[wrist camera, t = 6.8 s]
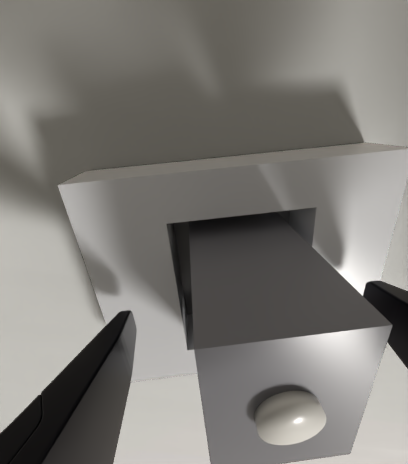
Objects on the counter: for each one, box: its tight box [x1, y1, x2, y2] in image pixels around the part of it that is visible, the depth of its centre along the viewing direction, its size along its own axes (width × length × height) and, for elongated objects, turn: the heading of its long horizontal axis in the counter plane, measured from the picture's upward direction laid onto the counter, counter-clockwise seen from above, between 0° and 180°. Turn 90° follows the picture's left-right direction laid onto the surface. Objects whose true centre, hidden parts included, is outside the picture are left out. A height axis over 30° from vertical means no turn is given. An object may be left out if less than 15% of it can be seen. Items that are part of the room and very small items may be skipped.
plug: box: [189, 212, 393, 464], centre depth 9 cm, size 4×5×7 cm
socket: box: [58, 143, 408, 383], centre depth 11 cm, size 12×10×3 cm
